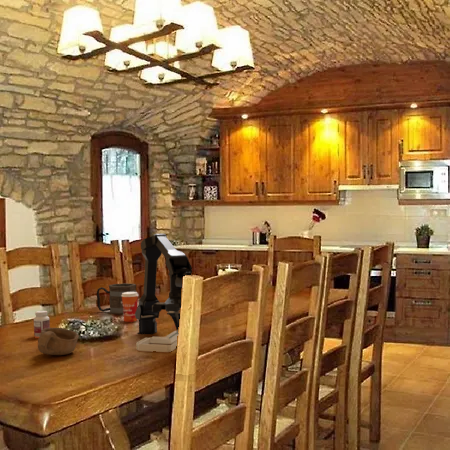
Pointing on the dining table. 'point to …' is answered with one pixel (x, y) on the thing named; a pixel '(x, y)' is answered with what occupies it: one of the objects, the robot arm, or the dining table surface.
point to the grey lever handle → (172, 336)
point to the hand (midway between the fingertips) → (178, 331)
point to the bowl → (57, 341)
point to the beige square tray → (145, 344)
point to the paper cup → (129, 305)
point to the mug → (116, 297)
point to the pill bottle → (40, 322)
